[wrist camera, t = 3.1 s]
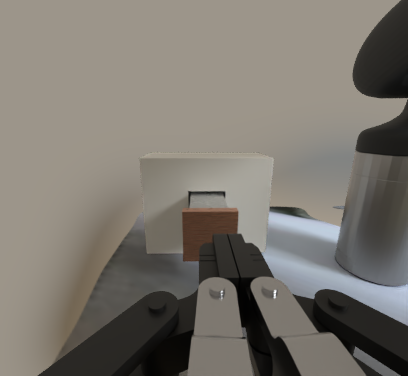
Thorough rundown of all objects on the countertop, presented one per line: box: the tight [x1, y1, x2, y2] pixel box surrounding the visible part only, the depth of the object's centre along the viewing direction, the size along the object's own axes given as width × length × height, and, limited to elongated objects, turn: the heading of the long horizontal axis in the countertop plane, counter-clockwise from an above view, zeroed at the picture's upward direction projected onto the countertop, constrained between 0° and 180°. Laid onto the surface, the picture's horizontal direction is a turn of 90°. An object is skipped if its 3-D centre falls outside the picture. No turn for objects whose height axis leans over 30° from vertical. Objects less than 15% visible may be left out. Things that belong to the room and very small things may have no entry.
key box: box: [140, 152, 274, 254], centre depth 38 cm, size 20×8×16 cm, turn 92°
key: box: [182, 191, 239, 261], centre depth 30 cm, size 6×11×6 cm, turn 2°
